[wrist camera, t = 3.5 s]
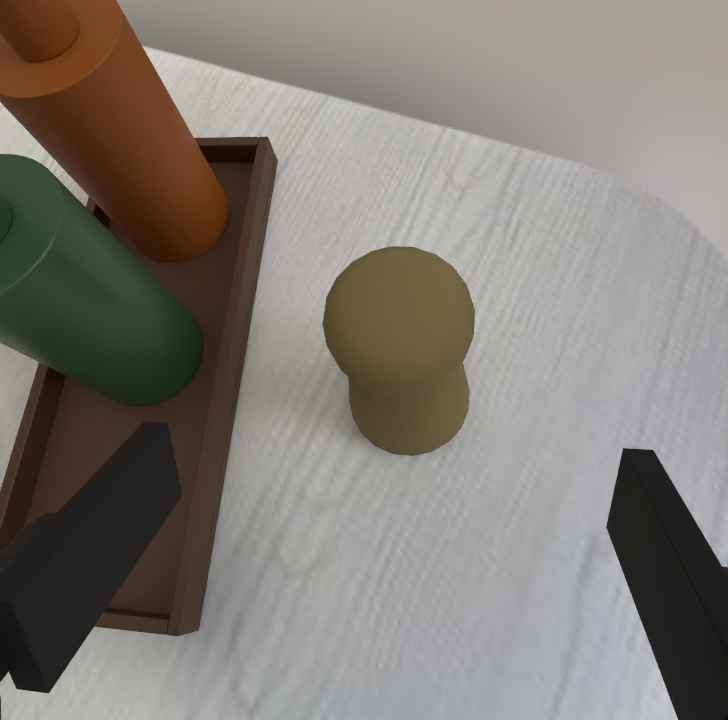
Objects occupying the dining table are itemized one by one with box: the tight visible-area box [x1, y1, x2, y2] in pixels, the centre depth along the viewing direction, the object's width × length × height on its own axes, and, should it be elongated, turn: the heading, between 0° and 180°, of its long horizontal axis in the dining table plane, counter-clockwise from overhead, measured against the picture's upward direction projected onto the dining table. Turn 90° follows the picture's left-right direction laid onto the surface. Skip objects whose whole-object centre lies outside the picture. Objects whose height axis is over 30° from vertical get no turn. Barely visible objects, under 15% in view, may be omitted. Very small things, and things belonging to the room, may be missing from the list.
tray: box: [0, 137, 277, 636], centre depth 29 cm, size 10×26×2 cm, turn 175°
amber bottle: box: [0, 0, 230, 263], centre depth 24 cm, size 6×6×17 cm
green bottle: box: [0, 154, 203, 407], centre depth 21 cm, size 6×6×17 cm
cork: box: [323, 246, 475, 456], centre depth 22 cm, size 6×6×11 cm
